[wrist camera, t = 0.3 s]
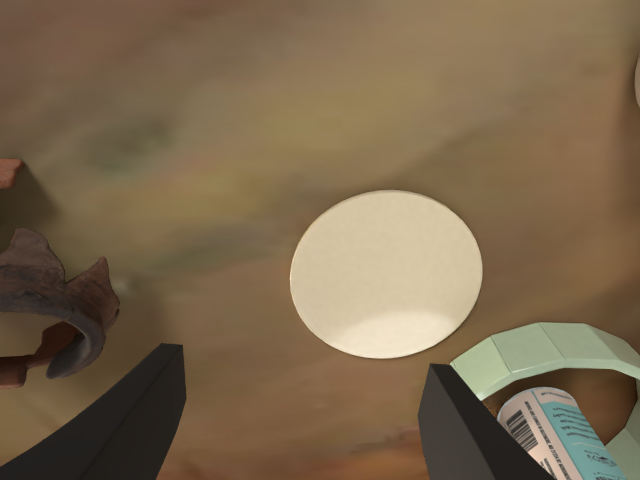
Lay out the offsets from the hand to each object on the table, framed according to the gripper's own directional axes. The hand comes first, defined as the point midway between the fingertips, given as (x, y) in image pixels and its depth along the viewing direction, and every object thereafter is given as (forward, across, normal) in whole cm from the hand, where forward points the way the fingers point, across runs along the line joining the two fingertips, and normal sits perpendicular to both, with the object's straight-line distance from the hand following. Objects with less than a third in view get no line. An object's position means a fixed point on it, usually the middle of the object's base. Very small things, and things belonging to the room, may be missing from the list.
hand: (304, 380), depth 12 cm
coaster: (+10, -4, +2) cm, 11 cm away
